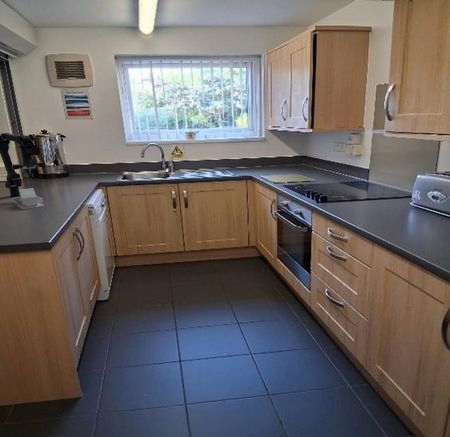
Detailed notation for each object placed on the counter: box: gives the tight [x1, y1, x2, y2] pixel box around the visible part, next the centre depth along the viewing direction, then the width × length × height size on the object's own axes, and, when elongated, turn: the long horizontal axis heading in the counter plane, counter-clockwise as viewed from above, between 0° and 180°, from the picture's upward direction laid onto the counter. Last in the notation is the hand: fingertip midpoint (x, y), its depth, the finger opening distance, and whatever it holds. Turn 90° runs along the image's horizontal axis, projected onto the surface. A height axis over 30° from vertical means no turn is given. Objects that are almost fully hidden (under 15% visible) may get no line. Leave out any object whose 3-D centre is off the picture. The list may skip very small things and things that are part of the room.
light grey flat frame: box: [12, 195, 44, 207], centre depth 230 cm, size 22×14×2 cm, turn 43°
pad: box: [17, 203, 46, 210], centre depth 217 cm, size 12×12×1 cm
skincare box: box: [19, 187, 38, 207], centre depth 218 cm, size 8×6×15 cm
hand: (30, 178), depth 239 cm, fingers closed
